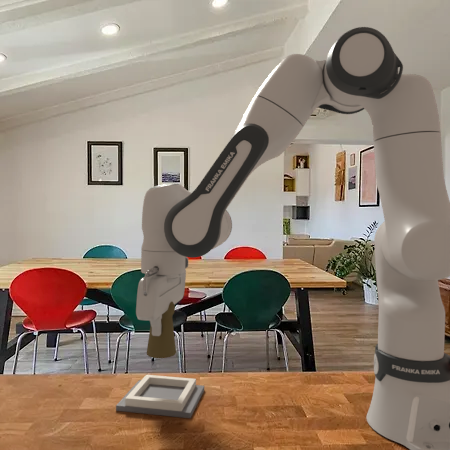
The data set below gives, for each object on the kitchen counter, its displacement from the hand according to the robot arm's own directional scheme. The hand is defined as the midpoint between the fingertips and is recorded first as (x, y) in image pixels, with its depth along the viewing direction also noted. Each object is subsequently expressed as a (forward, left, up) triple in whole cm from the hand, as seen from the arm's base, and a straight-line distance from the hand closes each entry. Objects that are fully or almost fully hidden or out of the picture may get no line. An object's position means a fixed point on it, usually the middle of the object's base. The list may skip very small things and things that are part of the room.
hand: (162, 330), depth 83 cm
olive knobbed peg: (0, 0, -5) cm, 5 cm away
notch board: (0, 0, -15) cm, 15 cm away
